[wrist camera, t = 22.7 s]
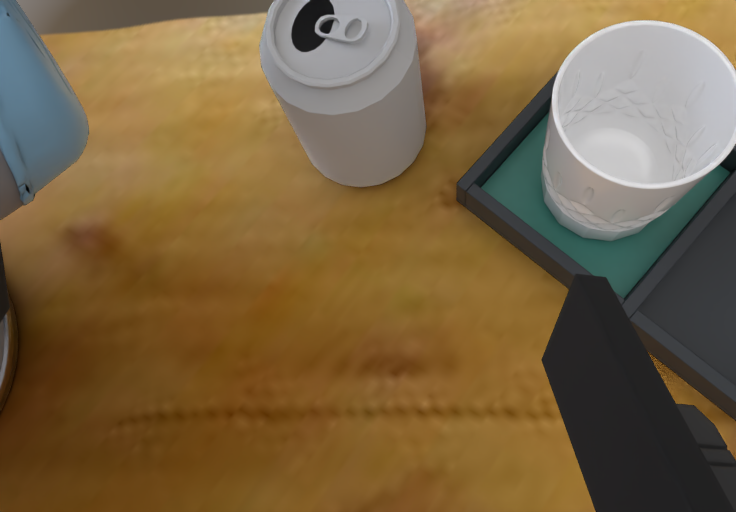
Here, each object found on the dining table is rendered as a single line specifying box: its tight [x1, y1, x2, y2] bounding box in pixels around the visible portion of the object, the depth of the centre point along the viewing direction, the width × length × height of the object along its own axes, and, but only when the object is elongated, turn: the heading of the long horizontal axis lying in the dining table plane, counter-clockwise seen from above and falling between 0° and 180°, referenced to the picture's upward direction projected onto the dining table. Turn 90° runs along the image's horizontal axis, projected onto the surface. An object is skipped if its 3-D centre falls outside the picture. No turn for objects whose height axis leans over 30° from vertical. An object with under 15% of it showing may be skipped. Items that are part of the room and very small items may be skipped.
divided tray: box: [456, 72, 736, 420], centre depth 38 cm, size 22×11×3 cm, turn 48°
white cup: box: [541, 20, 736, 241], centre depth 35 cm, size 8×8×10 cm
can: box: [259, 0, 426, 187], centre depth 37 cm, size 8×8×12 cm
